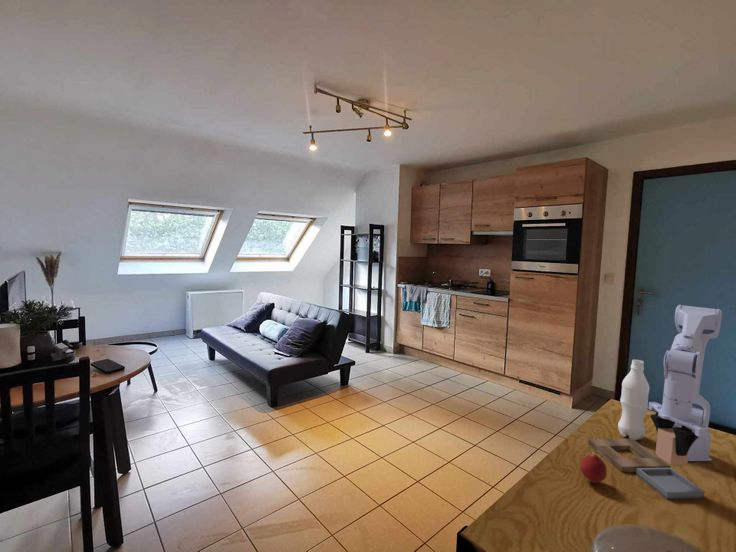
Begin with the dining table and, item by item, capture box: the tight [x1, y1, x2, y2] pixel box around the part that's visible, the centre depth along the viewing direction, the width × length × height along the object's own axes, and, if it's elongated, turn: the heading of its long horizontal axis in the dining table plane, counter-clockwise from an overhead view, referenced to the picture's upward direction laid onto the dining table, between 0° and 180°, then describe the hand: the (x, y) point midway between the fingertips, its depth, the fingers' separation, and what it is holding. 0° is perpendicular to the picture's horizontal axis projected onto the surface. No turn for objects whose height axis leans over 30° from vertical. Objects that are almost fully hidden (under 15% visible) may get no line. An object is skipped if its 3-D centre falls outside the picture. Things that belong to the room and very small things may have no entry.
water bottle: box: [617, 359, 650, 441], centre depth 119 cm, size 7×7×25 cm
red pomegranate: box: [580, 452, 608, 484], centre depth 96 cm, size 6×6×8 cm
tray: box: [635, 467, 706, 500], centre depth 96 cm, size 10×10×2 cm
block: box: [654, 428, 689, 465], centre depth 95 cm, size 4×4×7 cm
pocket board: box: [587, 438, 672, 473], centre depth 108 cm, size 14×14×2 cm
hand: (672, 449), depth 95 cm, fingers closed on block, 4 cm apart
